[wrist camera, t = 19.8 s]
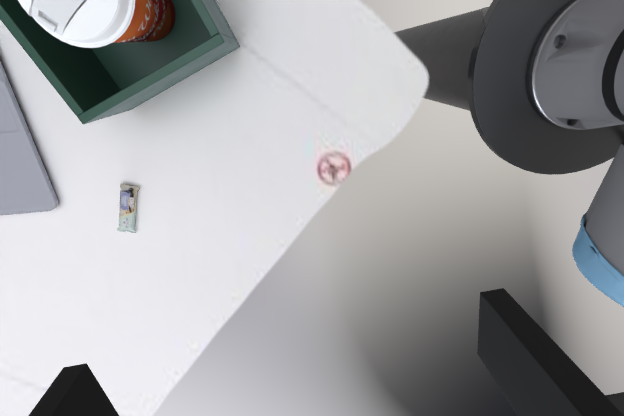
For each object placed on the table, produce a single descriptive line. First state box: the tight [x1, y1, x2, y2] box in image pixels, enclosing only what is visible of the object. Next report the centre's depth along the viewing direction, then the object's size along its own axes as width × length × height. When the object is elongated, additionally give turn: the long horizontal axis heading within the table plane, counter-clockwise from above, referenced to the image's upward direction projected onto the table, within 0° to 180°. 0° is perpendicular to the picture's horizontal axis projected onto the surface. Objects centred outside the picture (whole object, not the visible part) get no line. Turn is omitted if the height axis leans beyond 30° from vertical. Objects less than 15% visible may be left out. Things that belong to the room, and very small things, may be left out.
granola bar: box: [118, 184, 139, 233], centre depth 43 cm, size 7×2×1 cm, turn 165°
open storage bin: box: [0, 0, 240, 124], centre depth 30 cm, size 15×15×10 cm
